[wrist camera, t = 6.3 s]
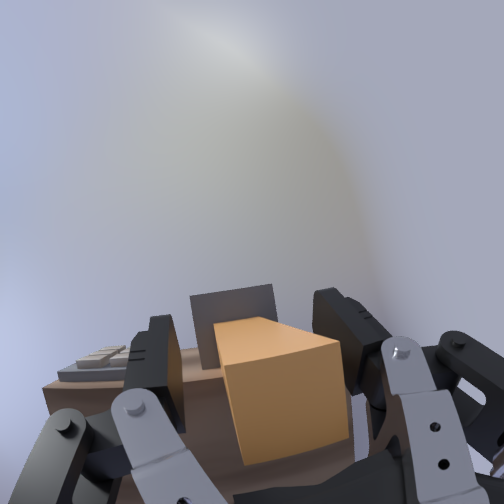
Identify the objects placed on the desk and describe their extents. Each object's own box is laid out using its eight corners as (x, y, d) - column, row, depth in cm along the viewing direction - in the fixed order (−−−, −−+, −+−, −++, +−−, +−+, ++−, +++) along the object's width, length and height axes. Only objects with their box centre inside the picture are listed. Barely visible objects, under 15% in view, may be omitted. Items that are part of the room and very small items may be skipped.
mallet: (385, 423, 6) (368, 257, 6) (197, 472, 5) (158, 290, 5) (263, 341, 21) (254, 287, 22) (203, 350, 21) (194, 296, 21)
